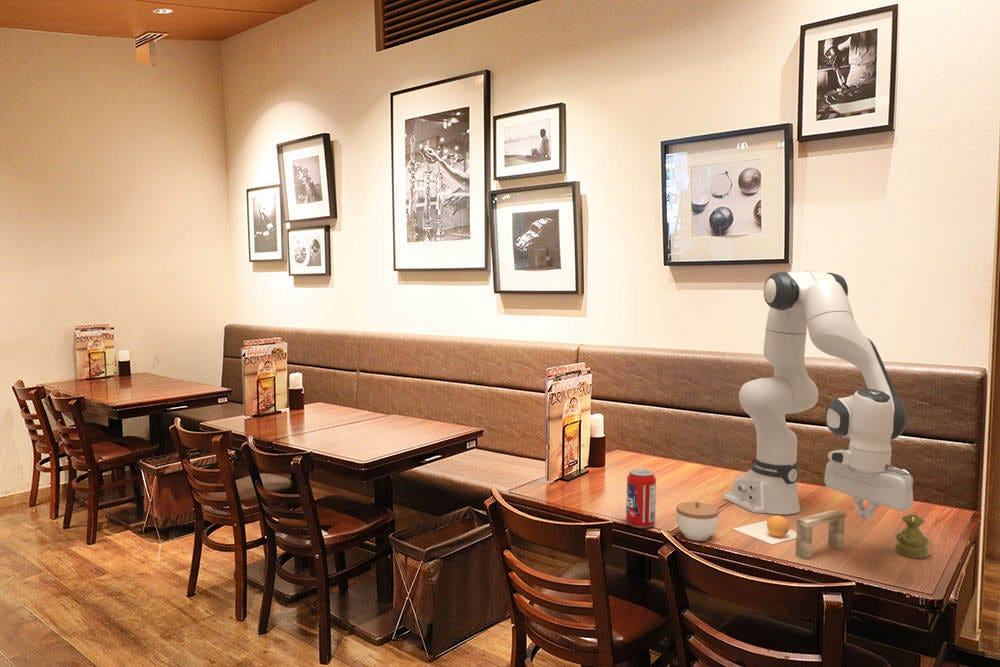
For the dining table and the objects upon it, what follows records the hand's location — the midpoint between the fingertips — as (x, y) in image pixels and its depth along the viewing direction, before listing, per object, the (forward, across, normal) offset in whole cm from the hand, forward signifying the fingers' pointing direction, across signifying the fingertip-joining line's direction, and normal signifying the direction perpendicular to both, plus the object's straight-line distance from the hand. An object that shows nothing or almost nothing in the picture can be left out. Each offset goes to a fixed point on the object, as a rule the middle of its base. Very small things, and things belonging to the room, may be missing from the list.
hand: (865, 517), depth 171 cm
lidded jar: (+13, +34, +19) cm, 41 cm away
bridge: (+12, +11, 0) cm, 17 cm away
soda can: (+14, +48, +26) cm, 56 cm away
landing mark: (+13, +27, 0) cm, 30 cm away
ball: (+10, +24, 0) cm, 26 cm away
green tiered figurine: (+12, -1, -19) cm, 23 cm away
